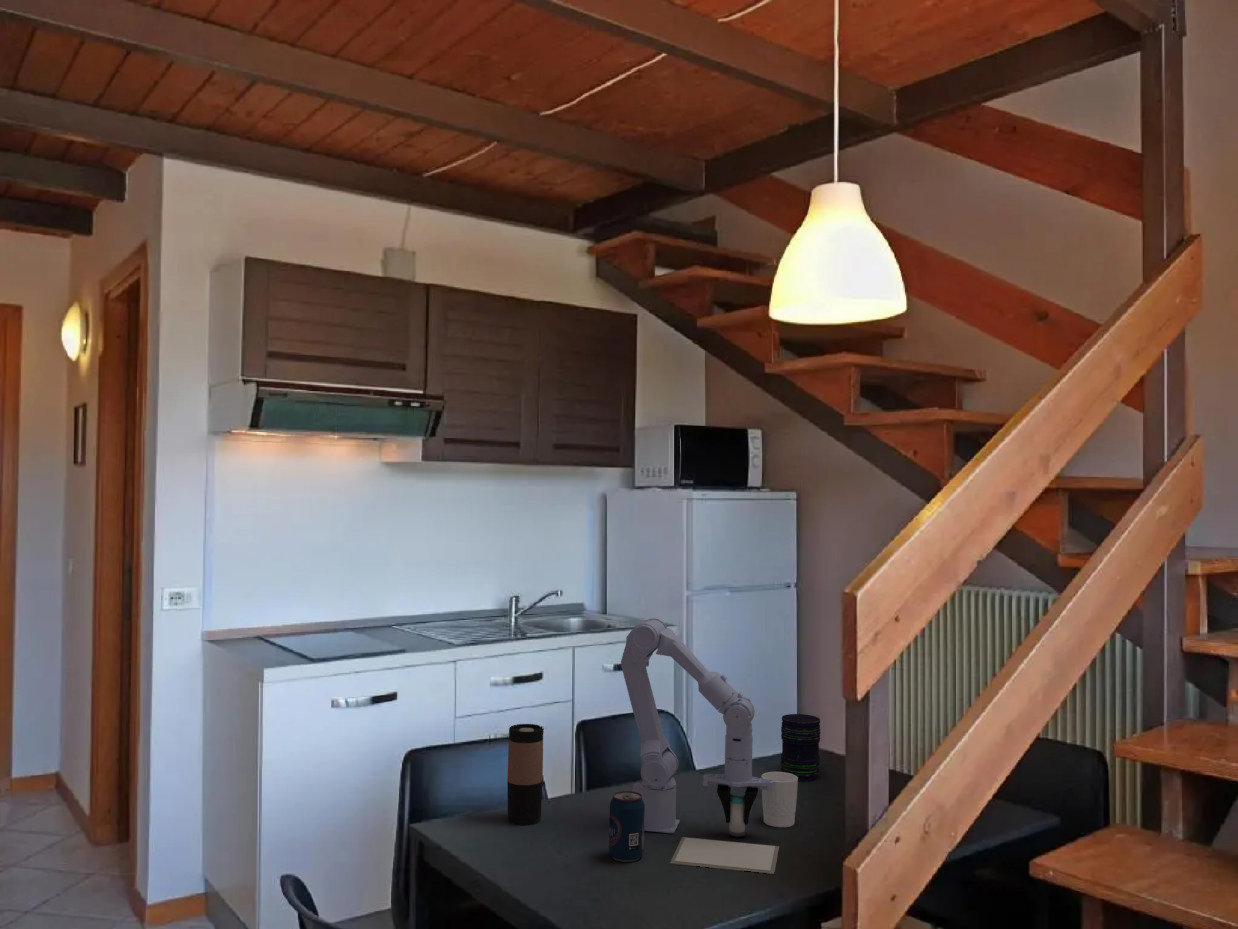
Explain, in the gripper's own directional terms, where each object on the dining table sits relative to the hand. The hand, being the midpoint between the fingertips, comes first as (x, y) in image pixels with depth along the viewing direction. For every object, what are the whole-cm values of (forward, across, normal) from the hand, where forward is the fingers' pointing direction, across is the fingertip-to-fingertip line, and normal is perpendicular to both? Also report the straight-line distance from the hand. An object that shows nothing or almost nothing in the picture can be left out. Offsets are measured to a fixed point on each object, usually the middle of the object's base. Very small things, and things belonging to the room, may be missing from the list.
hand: (737, 822), depth 210 cm
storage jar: (+3, +11, +48) cm, 49 cm away
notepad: (+3, -1, -12) cm, 12 cm away
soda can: (+3, -20, -18) cm, 27 cm away
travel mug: (+3, -46, -3) cm, 46 cm away
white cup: (+3, +8, +11) cm, 14 cm away
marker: (+2, 0, 0) cm, 2 cm away
